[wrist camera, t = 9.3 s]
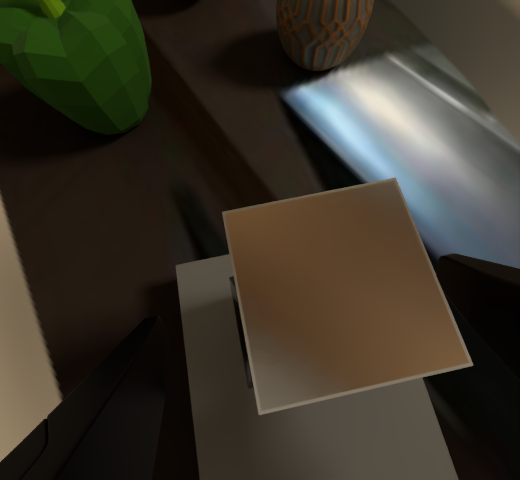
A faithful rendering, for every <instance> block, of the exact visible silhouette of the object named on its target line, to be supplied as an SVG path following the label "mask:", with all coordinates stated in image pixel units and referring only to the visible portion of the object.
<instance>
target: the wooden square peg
mask: <svg viewBox="0 0 520 480" xmlns="http://www.w3.org/2000/svg"><path fill="white" fill-rule="evenodd" d="M222 214H223V219H224V225H225V231H226V236H227V242H228V247H229V253H230V258H231V264H232V269H233V275H234V280H235V286H236V292H237V297H238V303H239V308H240V314H241V319H242V325H243V330H244V336H245V342H246V347H247V353H248V358H249V364H250V369H251V375H252V380H253V386H254V391H255V397H256V403H257V408H258V414H259V415H262V414H267V413H271V412H275V411H279V410H284V409H288V408H292V407H297V406H301V405H305V404H310V403H314V402H318V401H323V400H327V399H331V398H335V397H340V396H344V395H348V394H353V393H357V392H361V391H366V390H370V389H374V388H378V387H383V386H387V385H391V384H396V383H400V382H404V381H409V380H413V379H417V378H422V377H426V376H430V375H434V374H439V373H443V372H447V371H452V370H456V369H460V368H465V367H469V366H473V363H472V361H471V358H470V356H469V353H468V351H467V349H466V346H465V344H464V341H463V339H462V337H461V334H460V332H459V329H458V327H457V325H456V322H455V320H454V317H453V315H452V312H451V310H450V308H449V305H448V303H447V300H446V298H445V296H444V293H443V291H442V288H441V286H440V284H439V281H438V279H437V276H436V274H435V271H434V269H433V267H432V264H431V262H430V259H429V257H428V255H427V252H426V250H425V247H424V245H423V243H422V240H421V238H420V235H419V233H418V230H417V228H416V226H415V223H414V221H413V218H412V216H411V214H410V211H409V209H408V206H407V204H406V202H405V199H404V197H403V194H402V192H401V189H400V187H399V185H398V182H397V180H396V178H392V179H387V180H381V181H376V182H371V183H366V184H361V185H356V186H351V187H346V188H341V189H336V190H331V191H326V192H321V193H316V194H311V195H306V196H301V197H296V198H291V199H285V200H280V201H275V202H270V203H265V204H260V205H255V206H250V207H245V208H240V209H235V210H230V211H225V212H222Z"/></svg>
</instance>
